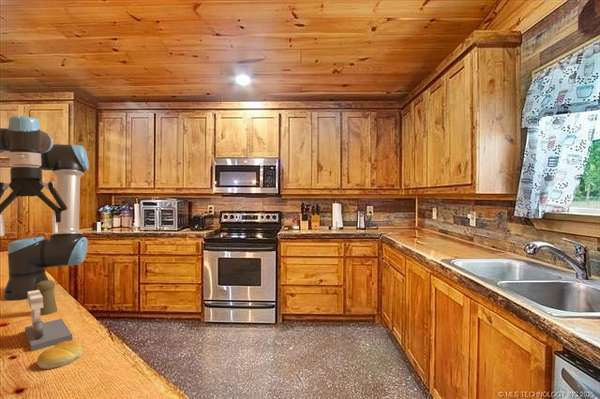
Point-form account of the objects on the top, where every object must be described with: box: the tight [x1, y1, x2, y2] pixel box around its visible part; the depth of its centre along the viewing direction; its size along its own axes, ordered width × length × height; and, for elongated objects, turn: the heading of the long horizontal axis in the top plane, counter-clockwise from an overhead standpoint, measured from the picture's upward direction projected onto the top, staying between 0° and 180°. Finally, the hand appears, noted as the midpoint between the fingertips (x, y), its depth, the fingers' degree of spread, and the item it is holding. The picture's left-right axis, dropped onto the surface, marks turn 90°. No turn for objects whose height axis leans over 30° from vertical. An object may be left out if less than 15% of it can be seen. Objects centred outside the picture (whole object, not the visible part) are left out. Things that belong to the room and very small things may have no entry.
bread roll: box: [36, 340, 84, 370], centre depth 81 cm, size 8×9×4 cm
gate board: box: [24, 318, 73, 352], centre depth 95 cm, size 17×9×2 cm, turn 44°
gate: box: [27, 290, 44, 338], centre depth 94 cm, size 12×3×10 cm, turn 44°
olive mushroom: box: [36, 279, 58, 316], centre depth 114 cm, size 6×6×11 cm
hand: (29, 234), depth 103 cm, fingers open, 13 cm apart
